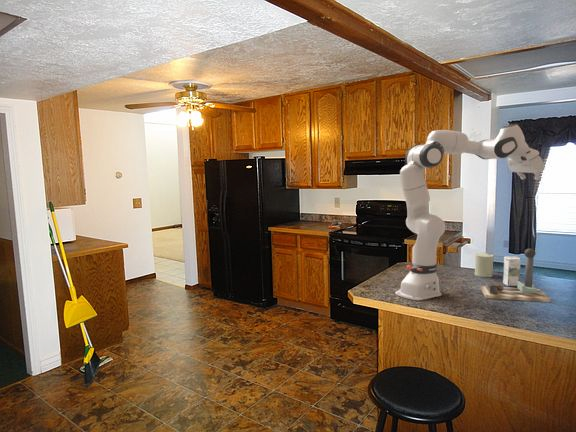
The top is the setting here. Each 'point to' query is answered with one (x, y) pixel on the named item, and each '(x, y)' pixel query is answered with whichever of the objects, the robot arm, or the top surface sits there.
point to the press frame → (511, 293)
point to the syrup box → (511, 270)
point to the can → (484, 265)
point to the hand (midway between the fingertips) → (530, 179)
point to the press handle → (528, 273)
